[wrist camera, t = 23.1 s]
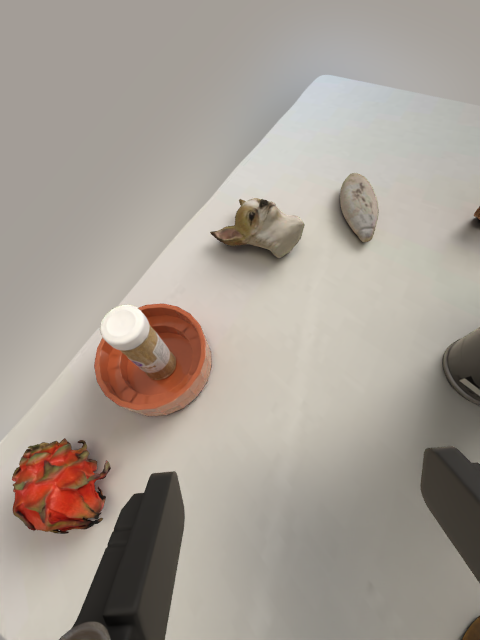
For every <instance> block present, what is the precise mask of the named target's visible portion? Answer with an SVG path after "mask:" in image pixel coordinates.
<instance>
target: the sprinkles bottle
mask: <svg viewBox="0 0 480 640" xmlns="http://www.w3.org/2000/svg"><path fill="white" fill-rule="evenodd" d="M100 332H101V335H102V337H103V339H104V340H105V341H106V342H107V343H108V344H109V345H111V346H112V347H113V348H115V349H117V350H120V351H121V352H122V353H123V354H125V355H126V356H127V357H128V359H130V360H131V361H132V362H133V363H134V364H135V365H137V366H138V367H139V368H140V369H141V370H143V371H144V372H145V373H146V374H147V375H148V376H149V377H150V378H151V379H154V380H162V379H165V378H167V377H169V376H170V375H171V374H172V373H173V371H174V370H175V368H176V358H175V356H174V355H173V353H172V352H170V351H169V349H168V347H167V346H166V344H165V343H164V342H163V341H162V339H161V338H160V337H159V335H158V334H157V333H156V331H155V330H154V329H153V328H152V327H151V326H150V324H149V322H148V319H147V318H146V316H145V315H144V314H143V313H142V312H141V310H140V309H138V308H137V307H135V306H132V305H121V306H118V307H115V308H113V309H112V310H110V311H109V312H108V313H107V314H106V315H105V316H104V318H103V320H102V322H101V326H100Z"/></svg>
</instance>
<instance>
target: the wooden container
mask: <svg viewBox="0 0 480 640" xmlns="http://www.w3.org/2000/svg"><path fill="white" fill-rule="evenodd" d="M462 640H480V617H478V618H477V619H476V620H475V621H474V622H473V623H472V624H471V626H470V627H469V629H468V630H467V631H466V633H465V635H464V637H463V639H462Z"/></svg>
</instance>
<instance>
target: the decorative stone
mask: <svg viewBox="0 0 480 640" xmlns="http://www.w3.org/2000/svg"><path fill="white" fill-rule="evenodd" d="M340 204H341V209H342V212H343V215H344V217H345V219H346V221H347V222H348V224H349V226H350V227H351V229H352V230H353V231H354V233H355V234H356V235H358V237H359V239H360V240H361V241H362V242H368V241H370V240H371V239H372V237H373V234H374V231H375V227H376V223H377V220H378V203H377V198H376V195H375V193H374V190H373V188H372V186H371V184H370V183H369V181H368V180H367V179H366V178H365V177H364V176H362V175H360V174H357V173H352V174H350V175H349V176H348V177H347V178H346V179H345V181H344V182H343V185H342V187H341V193H340Z"/></svg>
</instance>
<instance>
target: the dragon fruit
mask: <svg viewBox="0 0 480 640" xmlns="http://www.w3.org/2000/svg"><path fill="white" fill-rule="evenodd" d="M78 443H83V446H82V448H80V449H79V450H71V445H70V443H68V442H67V440H66V439H65V438H64V439H63V440H62V441H61V442H60V443H58V442H57V441H54V442H52V443H50V444H49V443H45V442H44V443H41V444H37V445H35V446H29V447H28V448H30V449H27V450H26V451H25V453H24V455H23V457H22V458H21V460H20V464H19V465H20V467H18V468H17V469H16V470H15V472H14V474H13V477H12V480H13V481H16V483H15V484H13V486H14V490H13V492H15V502H14V505H13V513H14V515H15V516H16V517H18V518H19V519H20V520H22V521H23V522H24V524H25V525H26V526H27V527H28V528H29V529H31V530H36V529H37V530H42V531H45V532H48V531H50V532H53V533H60V534H65V533H68V532H67V530H72V529H87V528H89V527H91V526H93V525H94V524H98V523H99V522H101V521H102V520H103V518H100V519H98V518H99V515H100V514H101V513H99V512H100V511H101V510H102V509H103V506H104V502H105V498H106V497H105V496H103V494H102V491H101V489H100V488H99V487H98V490H99V491H100V492H96V490H95V485H94V483H95V482H96V480H101V479H103V478H105V477H106V474H107V473H108V472H109V470H110V469H111V467H110V464H109V462H108V461H107V460H106V463H105V465H104V470H103V471H102V472H101V473H100V474H95V473H93V472H94V471H95V470H96V469H97V461H96V460H91V459H87V458H88V455H89V452H88V451H87V450H86V449H87V445H86V443H85V441H83V440H80V441H78ZM31 449H32V450H31ZM86 459H87V460H86ZM104 476H105V477H104ZM88 518H95V519H98V520H95V521H91V520H87V519H88ZM58 530H60V531H58Z"/></svg>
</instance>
